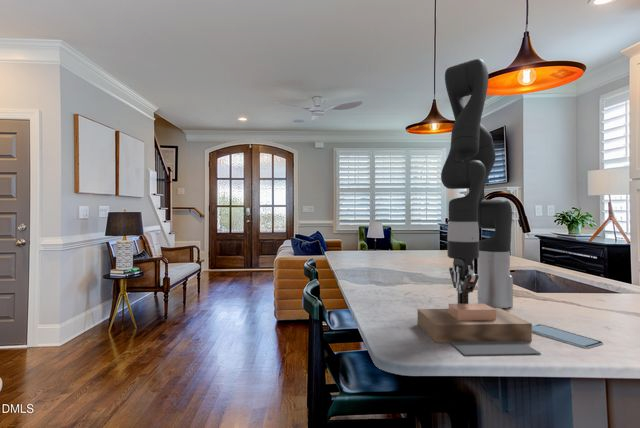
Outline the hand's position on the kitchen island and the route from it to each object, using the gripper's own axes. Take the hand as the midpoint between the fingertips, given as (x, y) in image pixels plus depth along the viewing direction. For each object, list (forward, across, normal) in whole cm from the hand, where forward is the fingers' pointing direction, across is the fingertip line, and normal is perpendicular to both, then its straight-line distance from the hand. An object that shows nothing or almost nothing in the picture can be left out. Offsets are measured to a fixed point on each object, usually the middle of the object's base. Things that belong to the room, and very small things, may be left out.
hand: (462, 307), depth 97 cm
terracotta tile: (+1, -5, 0) cm, 5 cm away
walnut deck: (+5, -4, 0) cm, 6 cm away
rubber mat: (+5, -15, 0) cm, 16 cm away
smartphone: (+6, -8, -20) cm, 23 cm away
